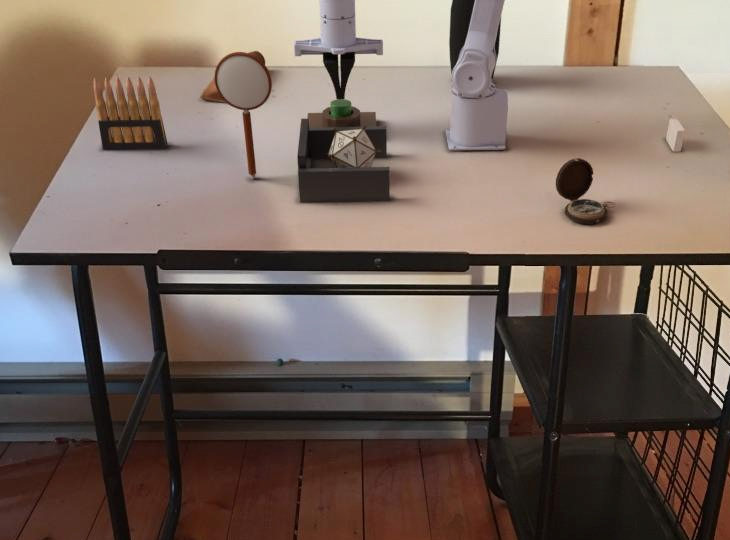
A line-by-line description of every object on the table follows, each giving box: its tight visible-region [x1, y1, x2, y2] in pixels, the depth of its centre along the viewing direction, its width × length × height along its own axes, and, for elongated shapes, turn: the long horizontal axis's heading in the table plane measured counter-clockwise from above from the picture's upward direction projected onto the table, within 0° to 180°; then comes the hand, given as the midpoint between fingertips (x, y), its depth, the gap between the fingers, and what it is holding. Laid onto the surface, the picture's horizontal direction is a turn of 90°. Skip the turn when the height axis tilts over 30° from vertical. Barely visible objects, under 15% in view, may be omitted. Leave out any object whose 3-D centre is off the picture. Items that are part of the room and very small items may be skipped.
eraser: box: [665, 118, 686, 153], centre depth 156 cm, size 1×5×4 cm, turn 1°
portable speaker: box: [448, 0, 502, 82], centre depth 174 cm, size 9×9×20 cm
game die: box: [324, 124, 381, 168], centre depth 146 cm, size 9×8×10 cm
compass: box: [555, 157, 616, 225], centre depth 137 cm, size 8×8×7 cm
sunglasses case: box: [199, 50, 266, 104], centre depth 179 cm, size 18×7×7 cm
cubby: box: [297, 118, 391, 203], centre depth 147 cm, size 14×16×7 cm
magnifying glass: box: [213, 51, 273, 180], centre depth 142 cm, size 9×2×20 cm, turn 83°
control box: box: [306, 105, 377, 128], centre depth 162 cm, size 12×9×4 cm
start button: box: [329, 98, 352, 117], centre depth 160 cm, size 4×4×2 cm
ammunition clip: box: [93, 76, 168, 151], centre depth 154 cm, size 11×2×12 cm, turn 91°
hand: (340, 97), depth 159 cm, fingers closed
